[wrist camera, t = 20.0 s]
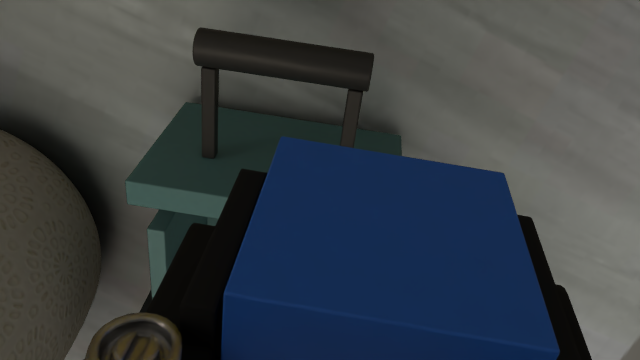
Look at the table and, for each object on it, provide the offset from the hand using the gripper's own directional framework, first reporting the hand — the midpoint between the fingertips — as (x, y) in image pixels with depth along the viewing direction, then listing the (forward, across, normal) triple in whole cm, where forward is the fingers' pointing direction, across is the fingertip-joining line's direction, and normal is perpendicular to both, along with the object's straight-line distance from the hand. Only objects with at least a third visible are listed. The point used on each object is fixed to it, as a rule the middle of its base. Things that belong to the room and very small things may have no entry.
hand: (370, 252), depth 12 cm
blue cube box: (0, 0, 0) cm, 0 cm away
